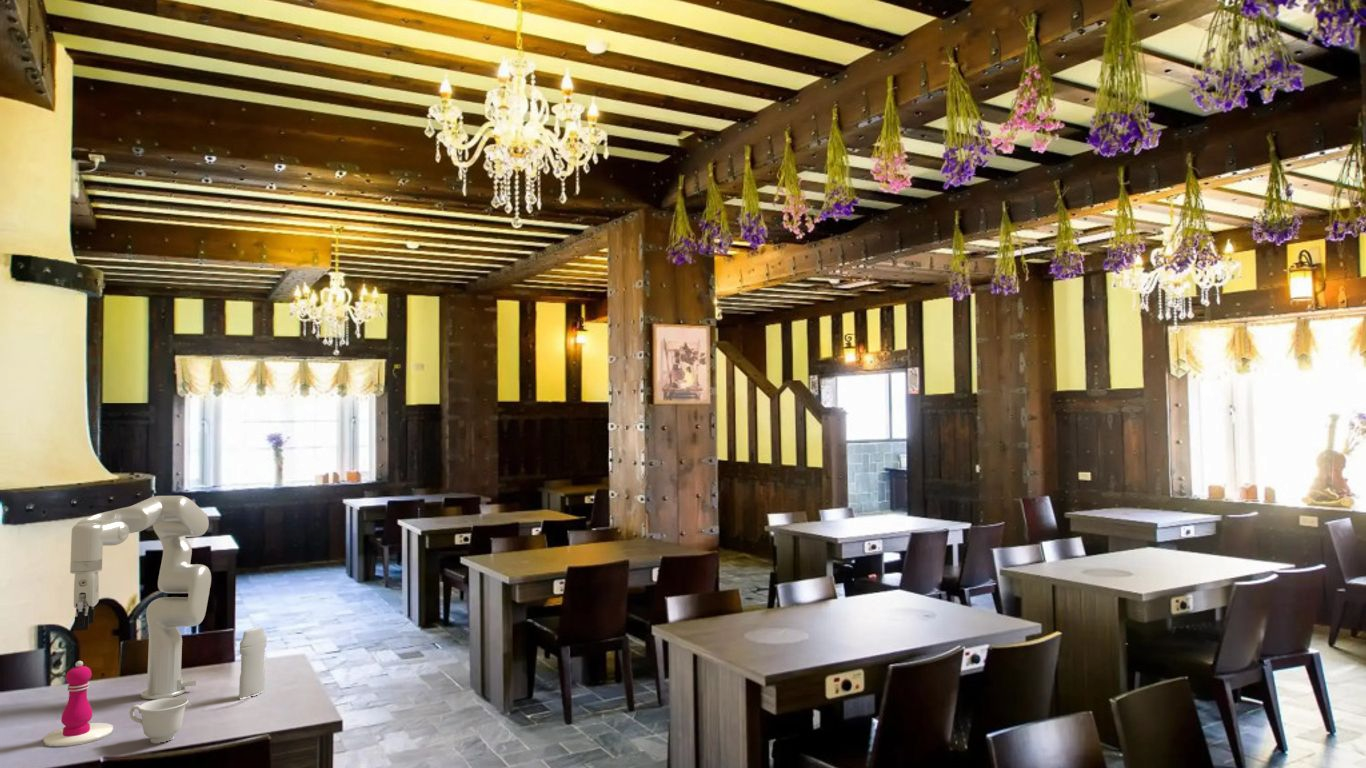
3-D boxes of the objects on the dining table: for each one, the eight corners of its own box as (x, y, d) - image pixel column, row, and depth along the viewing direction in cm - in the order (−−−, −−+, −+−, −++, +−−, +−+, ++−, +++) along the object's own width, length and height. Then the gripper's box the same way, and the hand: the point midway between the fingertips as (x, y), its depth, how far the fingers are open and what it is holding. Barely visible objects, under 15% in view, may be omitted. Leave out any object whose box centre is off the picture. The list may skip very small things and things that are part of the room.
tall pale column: (243, 701, 272) (245, 631, 273) (233, 699, 273) (235, 630, 275) (269, 691, 282) (271, 625, 283) (259, 690, 283) (261, 624, 285)
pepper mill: (75, 737, 235) (78, 664, 236) (53, 736, 236) (57, 663, 238) (98, 729, 242) (101, 658, 243) (77, 727, 244) (80, 657, 245)
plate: (116, 723, 250) (116, 719, 250) (108, 740, 236) (108, 736, 236) (50, 732, 243) (50, 728, 243) (37, 750, 229) (38, 746, 229)
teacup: (141, 733, 242) (142, 698, 242) (195, 731, 243) (196, 696, 244) (116, 748, 230) (117, 711, 230) (173, 746, 231) (174, 709, 232)
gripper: (97, 569, 237) (95, 631, 236) (106, 561, 252) (104, 619, 251) (64, 572, 233) (62, 634, 232) (75, 563, 249) (73, 622, 248)
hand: (84, 626), depth 242 cm, fingers open, 9 cm apart
